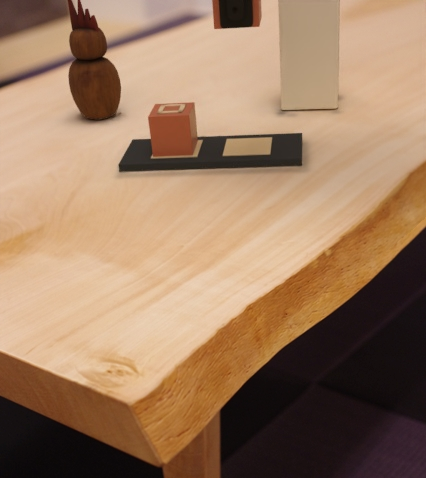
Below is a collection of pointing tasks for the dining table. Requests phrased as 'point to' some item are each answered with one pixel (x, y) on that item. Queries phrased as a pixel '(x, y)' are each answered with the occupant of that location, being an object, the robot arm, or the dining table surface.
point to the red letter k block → (256, 13)
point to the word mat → (219, 153)
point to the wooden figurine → (91, 67)
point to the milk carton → (309, 53)
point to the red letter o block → (173, 129)
